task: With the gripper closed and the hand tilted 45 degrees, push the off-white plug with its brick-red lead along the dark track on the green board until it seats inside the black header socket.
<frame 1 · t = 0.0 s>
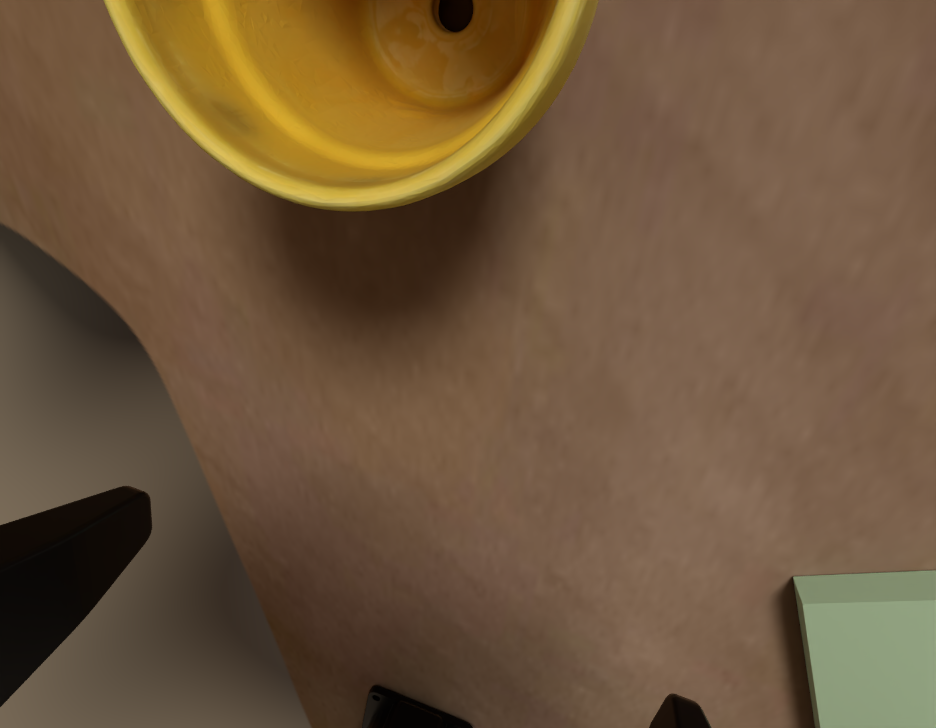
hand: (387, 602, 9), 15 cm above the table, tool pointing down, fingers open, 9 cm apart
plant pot: (460, 10, 19), on the table
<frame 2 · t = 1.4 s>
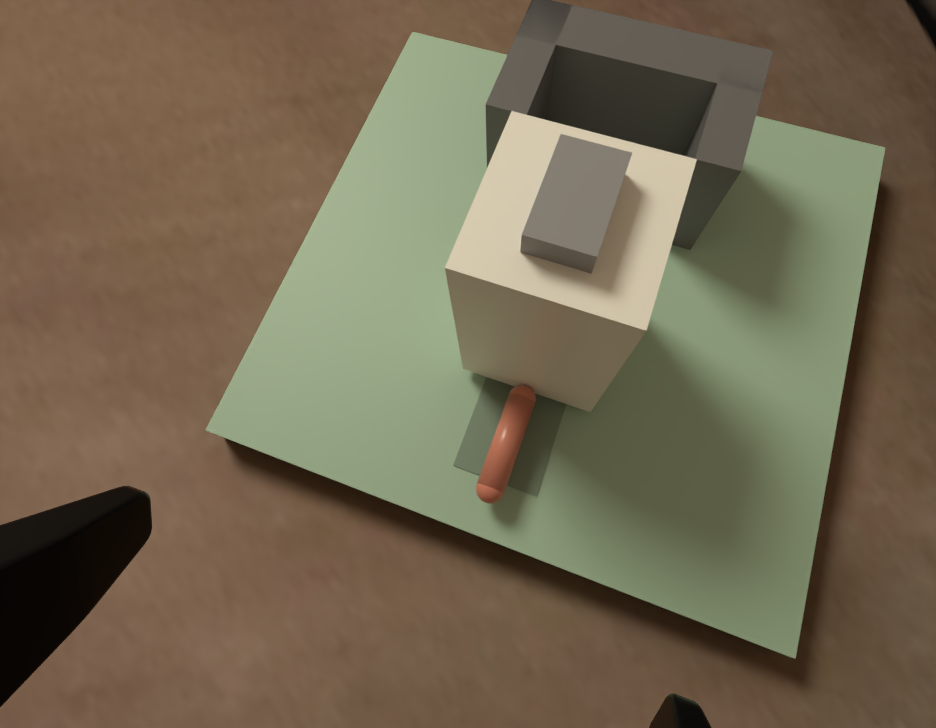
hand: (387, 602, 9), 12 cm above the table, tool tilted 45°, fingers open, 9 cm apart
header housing: (615, 128, 22), point 4 cm above the table
plug: (544, 316, 17), point 6 cm above the table, slide at 0.0 cm
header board: (560, 296, 24), on the table
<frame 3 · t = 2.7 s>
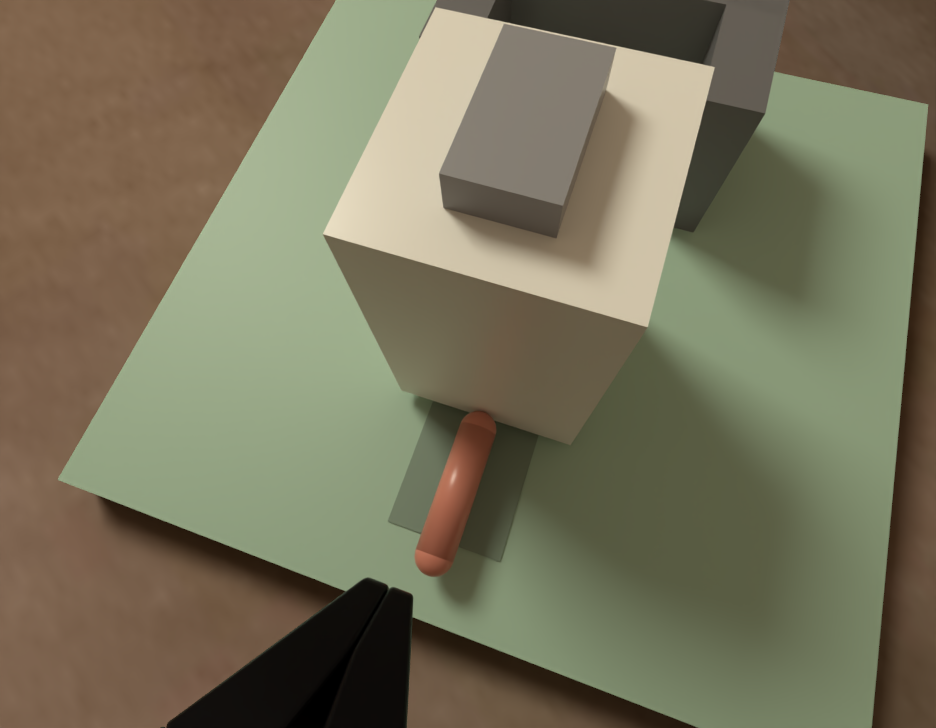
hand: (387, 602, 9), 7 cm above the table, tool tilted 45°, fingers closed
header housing: (593, 77, 17), point 4 cm above the table
plug: (498, 315, 12), point 6 cm above the table, slide at 0.0 cm
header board: (531, 295, 19), on the table
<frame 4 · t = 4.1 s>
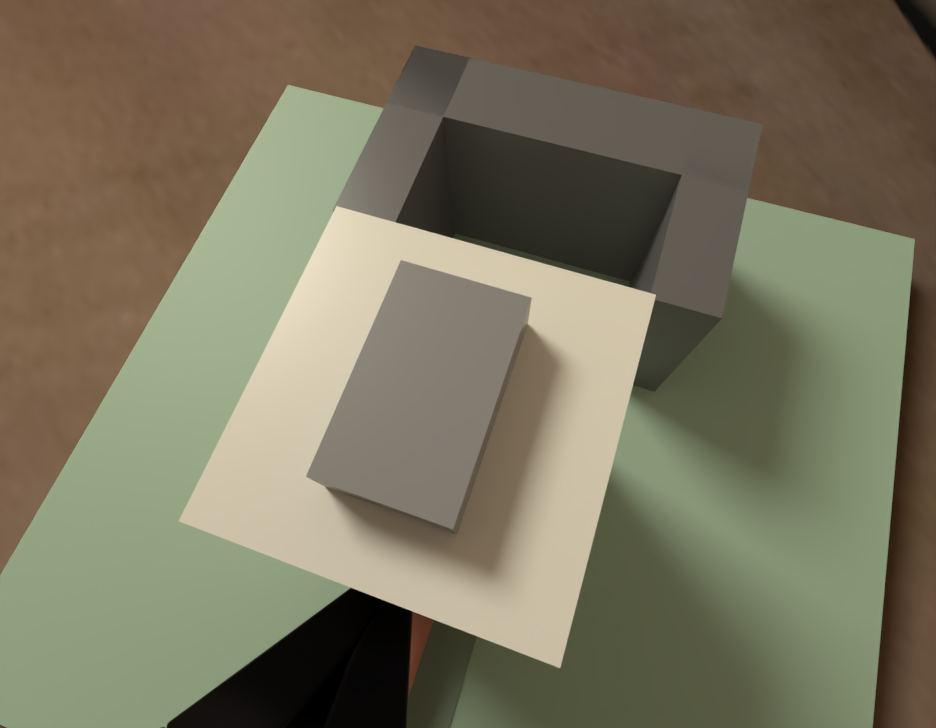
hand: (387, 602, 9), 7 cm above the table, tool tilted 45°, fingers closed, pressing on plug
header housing: (541, 228, 15), point 4 cm above the table
plug: (424, 521, 10), point 6 cm above the table, slide at 1.1 cm, touching gripper
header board: (478, 451, 17), on the table
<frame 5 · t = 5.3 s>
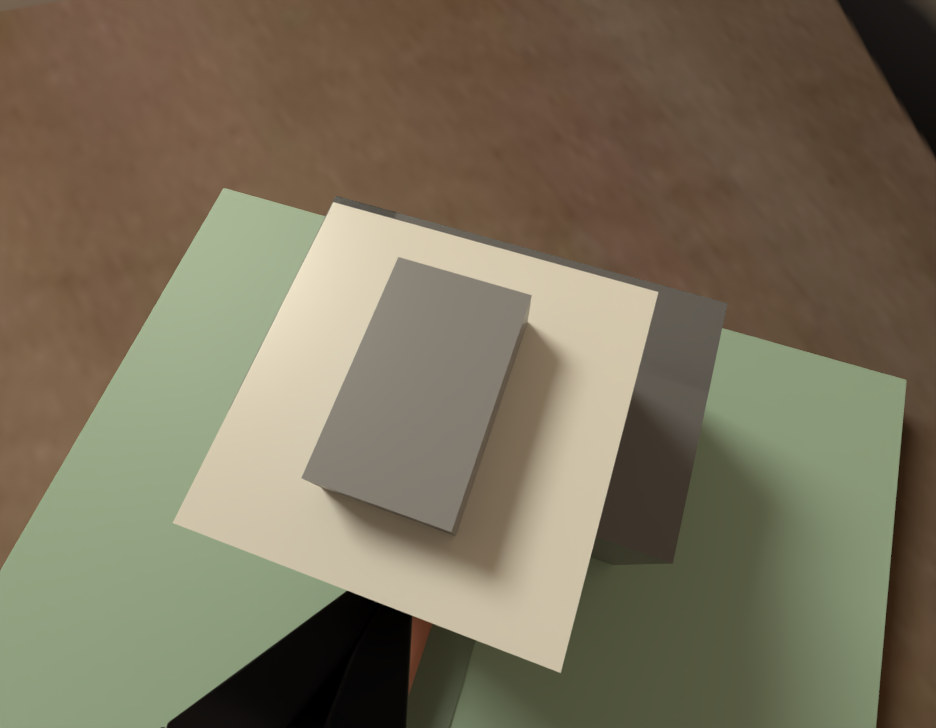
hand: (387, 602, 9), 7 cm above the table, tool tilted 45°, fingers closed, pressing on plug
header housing: (483, 392, 14), point 4 cm above the table
plug: (424, 522, 10), point 6 cm above the table, slide at 6.1 cm, touching gripper
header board: (421, 618, 16), on the table
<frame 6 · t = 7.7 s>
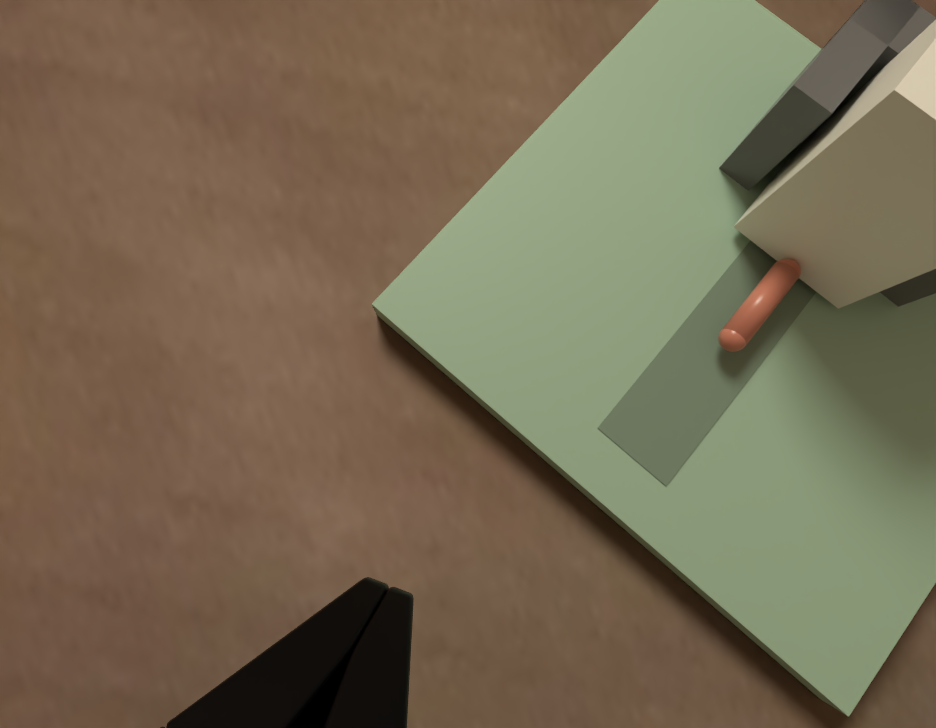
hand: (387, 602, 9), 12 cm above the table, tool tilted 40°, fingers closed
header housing: (891, 156, 20), point 4 cm above the table
plug: (889, 190, 17), point 6 cm above the table, slide at 6.1 cm
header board: (743, 301, 23), on the table
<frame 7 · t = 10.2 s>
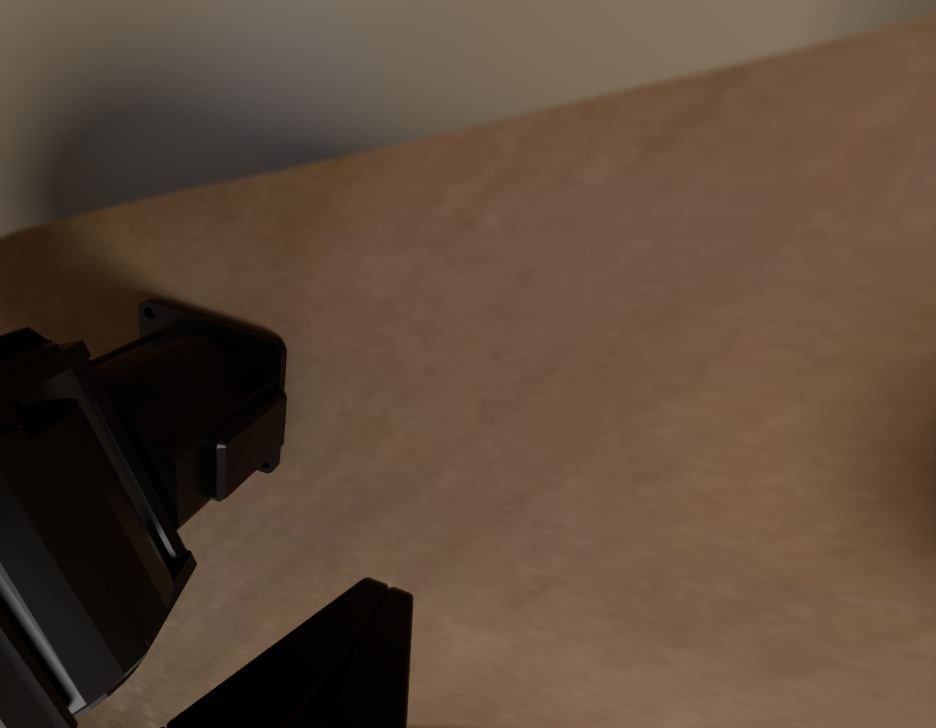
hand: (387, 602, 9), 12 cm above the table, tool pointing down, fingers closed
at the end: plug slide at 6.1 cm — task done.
